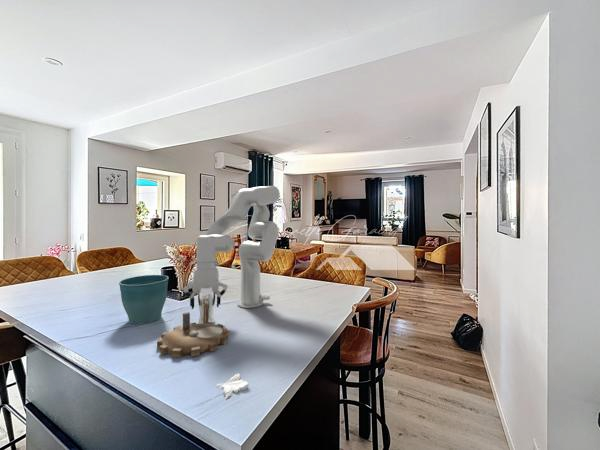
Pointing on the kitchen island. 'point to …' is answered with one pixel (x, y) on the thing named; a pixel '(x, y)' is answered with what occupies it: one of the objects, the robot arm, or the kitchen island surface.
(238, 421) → the kitchen island surface
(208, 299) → the beer glass
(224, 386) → the acanthus leaf ornament
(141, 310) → the flower pot
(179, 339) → the sprocket wheel
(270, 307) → the kitchen island surface
